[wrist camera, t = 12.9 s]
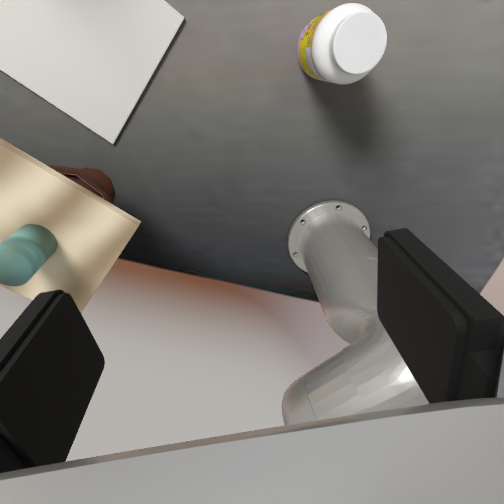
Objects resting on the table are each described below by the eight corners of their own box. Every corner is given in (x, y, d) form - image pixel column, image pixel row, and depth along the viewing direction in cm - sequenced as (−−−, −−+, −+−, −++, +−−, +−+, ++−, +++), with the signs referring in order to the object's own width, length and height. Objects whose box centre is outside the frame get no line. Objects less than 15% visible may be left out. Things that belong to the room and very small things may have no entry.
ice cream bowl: (71, 230, 49) (15, 290, 36) (36, 153, 44) (-44, 191, 31) (143, 218, 49) (113, 275, 36) (117, 140, 44) (71, 172, 31)
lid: (141, 221, 33) (125, 250, 28) (80, 313, 38) (57, 353, 33) (-10, 132, 28) (-63, 147, 23) (-58, 251, 33) (-110, 286, 28)
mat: (184, 18, 38) (184, 17, 37) (113, 143, 44) (112, 144, 43) (30, -117, 32) (27, -119, 32) (-28, 49, 38) (-31, 49, 38)
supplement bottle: (342, 3, 38) (390, -22, 27) (357, 64, 41) (406, 65, 30) (287, 32, 39) (312, 20, 28) (306, 89, 42) (335, 99, 31)
